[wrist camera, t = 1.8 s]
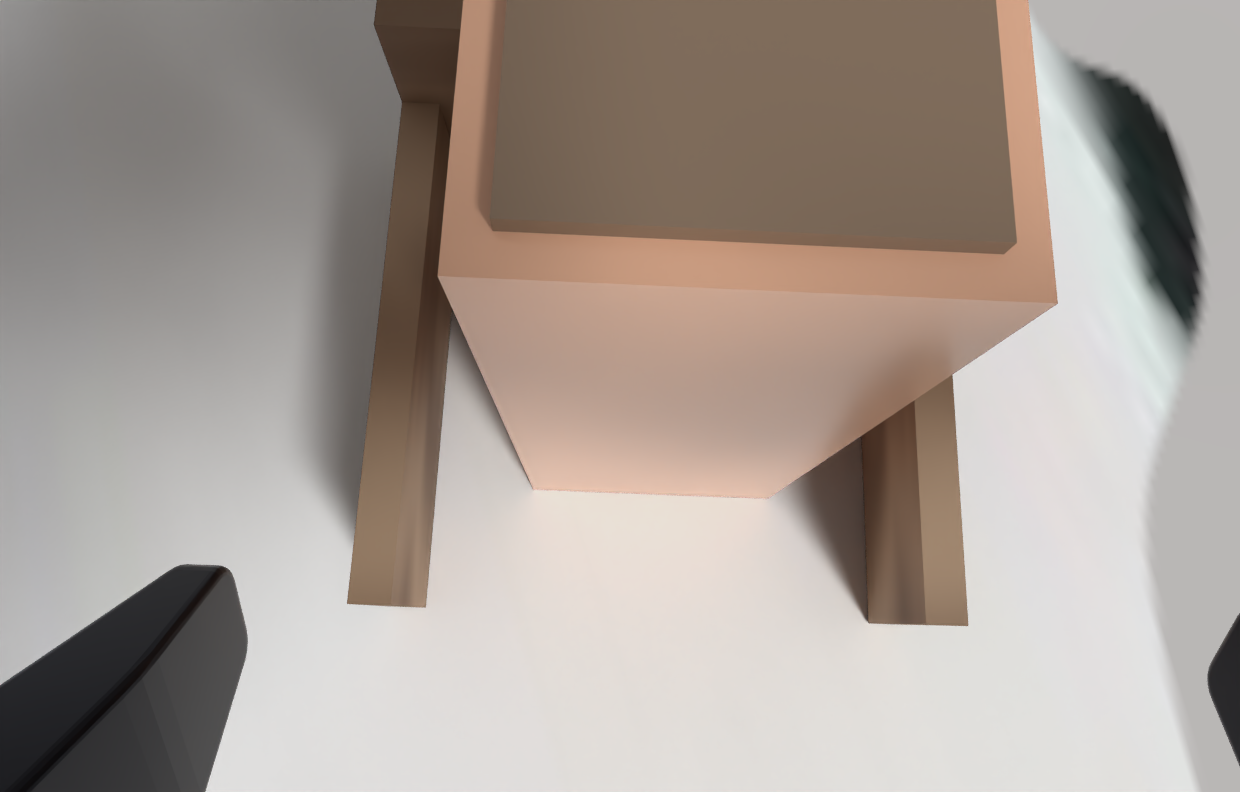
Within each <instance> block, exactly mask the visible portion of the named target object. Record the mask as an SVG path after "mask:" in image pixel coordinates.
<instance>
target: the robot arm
mask: <svg viewBox="0 0 1240 792" xmlns="http://www.w3.org/2000/svg"><path fill="white" fill-rule="evenodd" d="M247 644H248V638H247V630H246V626H245V621H244V617H243V613H242V609H241V605H240V601H239V596H238V592H237V588H236V584H235V580H234V577H233V575H232V573H231V572H230V570H229V569H227V568H226V567H223V566H219V565H192V564H186V565H180V566H177V567H175V568H173V569H171V570H169V571H168V572H166V573H165V574H163V575H162V576H160V577H159V578H158V579H156V580H155V581H153V582H152V583H150V584H149V585H147V586H146V587H144V588H143V589H141V590H140V591H138V592H137V593H135V594H134V595H132V596H131V597H129V598H128V599H127V600H125V601H124V602H122V603H121V604H119V605H118V606H116V607H115V608H113V609H112V610H110V611H109V612H107V613H106V614H104V615H103V616H101V617H100V618H99V619H97V620H96V621H94V622H93V623H91V624H90V625H88V626H87V627H85V628H84V629H82V630H81V631H79V632H78V633H76V634H75V635H73V636H72V637H70V638H69V639H68V640H66V641H65V642H63V643H62V644H60V645H59V646H57V647H56V648H54V649H53V650H51V651H50V652H48V653H47V654H45V655H44V656H42V657H41V658H40V659H38V660H37V661H35V662H34V663H32V664H31V665H29V666H28V667H26V668H25V669H23V670H22V671H20V672H19V673H17V674H16V675H14V676H13V677H11V678H10V679H9V680H7V681H6V682H4V683H3V684H1V685H0V792H205V791H206V788H207V785H208V781H209V778H210V775H211V771H212V768H213V765H214V761H215V758H216V755H217V752H218V748H219V745H220V742H221V738H222V735H223V732H224V728H225V725H226V722H227V719H228V715H229V712H230V709H231V705H232V702H233V699H234V695H235V692H236V689H237V686H238V682H239V679H240V676H241V672H242V669H243V666H244V662H245V658H246V653H247ZM1208 688H1209V692H1210V695H1211V698H1212V701H1213V703H1214V705H1215V708H1216V710H1217V713H1218V715H1219V717H1220V720H1221V722H1222V725H1223V727H1224V730H1225V732H1226V734H1227V737H1228V739H1229V742H1230V744H1231V746H1232V749H1233V751H1234V754H1235V756H1236V758H1237V761H1238V763H1239V766H1240V614H1239V615H1238V616H1237V618H1236V620H1235V622H1234V623H1233V625H1232V627H1231V628H1230V630H1229V632H1228V634H1227V635H1226V637H1225V639H1224V641H1223V643H1222V644H1221V646H1220V648H1219V650H1218V651H1217V653H1216V655H1215V657H1214V658H1213V660H1212V662H1211V664H1210V666H1209V670H1208Z"/></svg>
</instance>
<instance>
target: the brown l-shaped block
mask: <svg viewBox="0 0 1240 792" xmlns="http://www.w3.org/2000/svg"><path fill="white" fill-rule="evenodd" d="M462 9H463V0H377V4H376V12H375V20H374V26H375V29H376V32H377V35H378V37H379V40H380V43H381V46H382V48H383V51H384V54H385V56H386V59H387V62H388V65H389V67H390V70H391V73H392V76H393V78H394V81H395V84H396V86H397V89H398V92H399V95H400V97H401V100H402V108H401V117H400V126H399V136H398V145H397V154H396V163H395V172H394V181H393V190H392V199H391V208H390V218H389V227H388V236H387V245H386V254H385V263H384V272H383V281H382V290H381V299H380V309H379V318H378V327H377V336H376V345H375V354H374V363H373V372H372V381H371V390H370V400H369V409H368V418H367V427H366V436H365V445H364V454H363V463H362V472H361V482H360V491H359V500H358V509H357V518H356V527H355V536H354V545H353V554H352V563H351V573H350V582H349V591H348V600H347V604H359V605H377V606H398V607H426V598H427V586H428V575H429V564H430V552H431V541H432V529H433V518H434V507H435V495H436V484H437V472H438V461H439V450H440V438H441V427H442V415H443V404H444V393H445V381H446V370H447V358H448V347H449V336H450V324H451V313H452V307H451V305H450V303H449V300H448V298H447V296H446V294H445V292H444V289H443V287H442V285H441V283H440V280H439V278H438V266H439V255H440V245H441V234H442V223H443V212H444V202H445V191H446V180H447V170H448V159H449V148H450V137H451V127H452V116H453V105H454V94H455V84H456V73H457V62H458V51H459V41H460V30H461V19H462ZM862 462H863V490H864V518H865V545H866V573H867V601H868V623H876V624H904V625H949V626H968V613H967V597H966V581H965V566H964V550H963V534H962V519H961V503H960V487H959V472H958V456H957V440H956V425H955V409H954V393H953V378H952V375H951V376H949V377H948V378H947V379H945V380H944V381H942V382H941V383H939V384H938V385H936V386H935V387H933V388H932V389H930V390H929V391H927V392H926V393H924V394H923V395H921V396H920V397H918V398H917V399H915V400H914V401H912V402H911V403H909V404H908V405H906V406H905V407H904V408H902V409H901V410H899V411H898V412H896V413H895V414H893V415H892V416H890V417H889V418H887V419H886V420H884V421H883V422H881V423H880V424H878V425H877V426H875V427H874V428H872V429H871V430H869V431H868V432H866V433H865V434H863V435H862Z"/></svg>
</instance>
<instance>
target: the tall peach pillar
mask: <svg viewBox="0 0 1240 792" xmlns="http://www.w3.org/2000/svg"><path fill="white" fill-rule="evenodd" d="M438 278H439V280H440V283H441V285H442V287H443V289H444V292H445V294H446V296H447V298H448V300H449V303H450V305H451V307H452V309H453V312H454V314H455V316H456V318H457V320H458V323H459V325H460V327H461V329H462V332H463V334H464V336H465V338H466V340H467V343H468V345H469V347H470V349H471V352H472V354H473V356H474V358H475V361H476V363H477V365H478V367H479V369H480V372H481V374H482V376H483V378H484V381H485V383H486V385H487V387H488V389H489V392H490V394H491V396H492V398H493V401H494V403H495V405H496V407H497V409H498V412H499V414H500V416H501V418H502V421H503V423H504V425H505V427H506V430H507V432H508V434H509V436H510V438H511V441H512V443H513V445H514V447H515V450H516V452H517V454H518V456H519V458H520V461H521V463H522V465H523V467H524V470H525V472H526V474H527V476H528V478H529V481H530V483H531V485H532V487H533V490H558V491H584V492H609V493H635V494H661V495H687V496H713V497H738V498H764V499H769V498H770V497H771V496H773V495H774V494H776V493H777V492H779V491H780V490H782V489H783V488H785V487H786V486H788V485H789V484H791V483H792V482H794V481H795V480H797V479H798V478H800V477H801V476H803V475H804V474H806V473H807V472H809V471H810V470H812V469H813V468H815V467H816V466H817V465H819V464H820V463H822V462H823V461H825V460H826V459H828V458H829V457H831V456H832V455H834V454H835V453H837V452H838V451H840V450H841V449H843V448H844V447H846V446H847V445H849V444H850V443H852V442H853V441H855V440H856V439H858V438H859V437H860V436H862V435H863V434H865V433H866V432H868V431H869V430H871V429H872V428H874V427H875V426H877V425H878V424H880V423H881V422H883V421H884V420H886V419H887V418H889V417H890V416H892V415H893V414H895V413H896V412H898V411H899V410H901V409H902V408H904V407H905V406H906V405H908V404H909V403H911V402H912V401H914V400H915V399H917V398H918V397H920V396H921V395H923V394H924V393H926V392H927V391H929V390H930V389H932V388H933V387H935V386H936V385H938V384H939V383H941V382H942V381H944V380H945V379H947V378H948V377H949V376H951V375H952V374H954V373H955V372H957V371H958V370H960V369H961V368H963V367H964V366H966V365H967V364H969V363H970V362H972V361H973V360H975V359H976V358H978V357H979V356H981V355H982V354H984V353H985V352H987V351H988V350H990V349H991V348H993V347H994V346H995V345H997V344H998V343H1000V342H1001V341H1003V340H1004V339H1006V338H1007V337H1009V336H1010V335H1012V334H1013V333H1015V332H1016V331H1018V330H1019V329H1021V328H1022V327H1024V326H1025V325H1027V324H1028V323H1030V322H1031V321H1033V320H1034V319H1036V318H1037V317H1039V316H1040V315H1041V314H1043V313H1044V312H1046V311H1047V310H1049V309H1050V308H1052V307H1053V306H1055V305H1056V304H1058V301H1057V291H1056V281H1055V270H1054V260H1053V250H1052V240H1051V229H1050V219H1049V209H1048V199H1047V189H1046V178H1045V168H1044V158H1043V148H1042V137H1041V127H1040V117H1039V107H1038V96H1037V86H1036V76H1035V66H1034V55H1033V45H1032V35H1031V25H1030V15H1029V4H1028V0H463V9H462V19H461V30H460V41H459V51H458V62H457V73H456V84H455V94H454V105H453V116H452V127H451V137H450V148H449V159H448V170H447V180H446V191H445V202H444V212H443V223H442V234H441V245H440V255H439V266H438Z"/></svg>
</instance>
